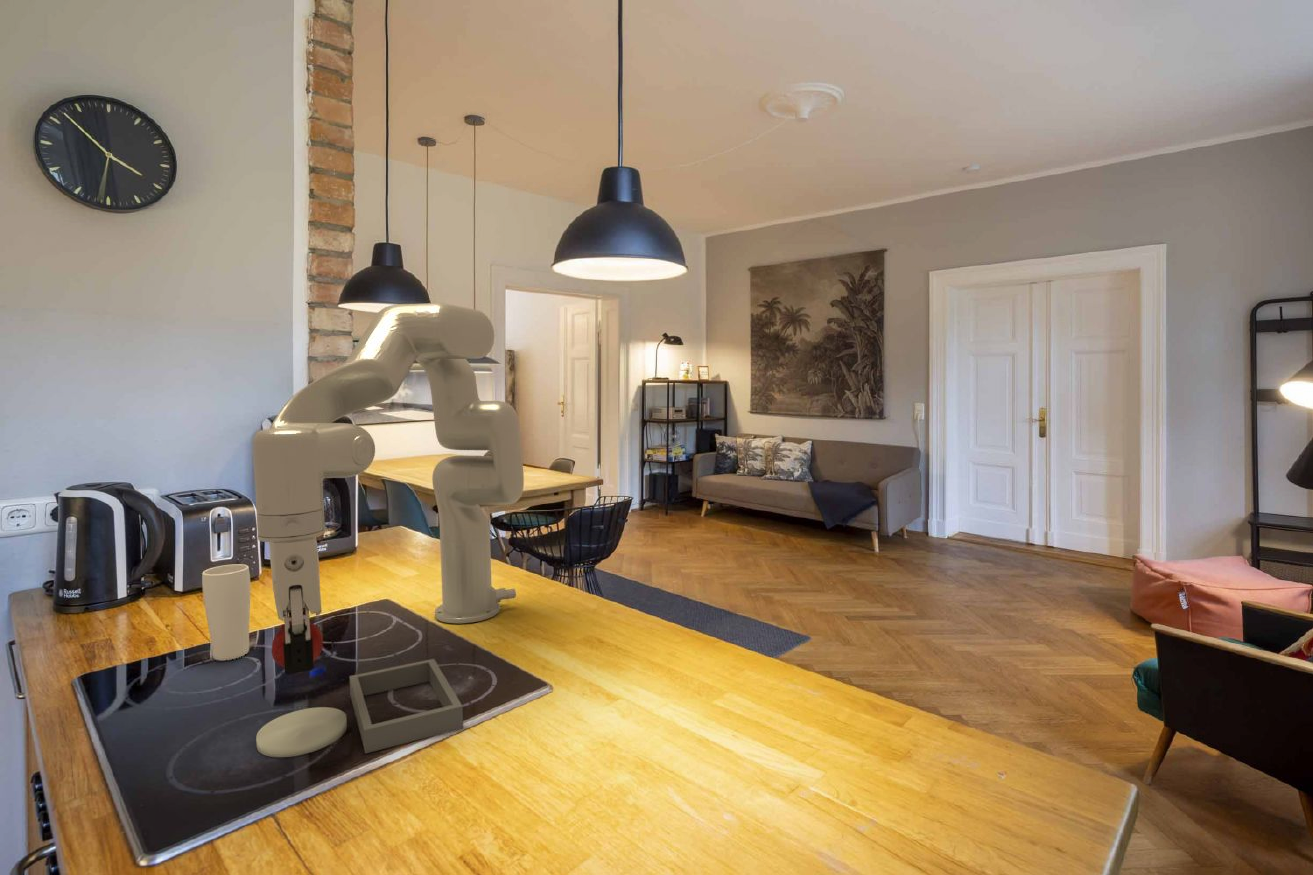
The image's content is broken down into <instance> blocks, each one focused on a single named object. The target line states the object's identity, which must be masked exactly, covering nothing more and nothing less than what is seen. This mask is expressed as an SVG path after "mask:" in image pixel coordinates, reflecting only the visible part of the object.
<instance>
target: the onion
mask: <svg viewBox="0 0 1313 875" xmlns="http://www.w3.org/2000/svg"><path fill="white" fill-rule="evenodd" d="M309 622H310V638H312V639H313V659H314V662H315V661H317V659H318V657H319V656H320V655H321V653H322V650H323V648H324V646H323V645H324V639H323V634H322V632H321V631H320V629H319V627H318V626H317V625H316V624H314V623H313V622H311V621H310V620H309ZM303 623H305V620H303ZM291 625H292V622H289V627H290V626H291ZM305 639H306V637H305ZM272 640H273V641H272V643H271V655H272V659H273V660H274V661H275V663H276V664H277V665H279V666H280V667H282V668H284V669H285V666H284V647H283V642H286V641H285V623H283V625H281V627H279V628H278V630H277V631H276V634H275V635H274V638H273V639H272ZM290 641H291V640H290ZM300 673H303V672H299V673H298V674H300Z"/></svg>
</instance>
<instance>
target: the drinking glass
mask: <svg viewBox="0 0 1313 875" xmlns="http://www.w3.org/2000/svg"><path fill="white" fill-rule="evenodd" d="M201 575H202V576H201V577H202V578H201V579H202V580H201V583H202V596H203V603H204V610H205V615H206V621H207V628H208V630H209V631H208V632H209V637H210V643H211V644H210V645H211V655H212V659H214V660H216V661H219V662H224V661H226V660H227V661H232V659H233V660H236V658H237V659H240V658H242V657H244V656H245V654H246V655H248V653H249V652H250V621H251V620H250V617H251V616H250V615H251V613H250V612H251V575H250V567H249V565H247V564H242V563H241V564H240V563H239V564H236V563H235V564H225V565H217V566H214V567H210V568H208V569H206V570H203V572H202V574H201ZM241 656H242V657H241ZM239 657H240V658H239Z"/></svg>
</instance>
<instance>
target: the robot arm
mask: <svg viewBox="0 0 1313 875" xmlns="http://www.w3.org/2000/svg"><path fill="white" fill-rule="evenodd" d="M494 344H495V330H494V326H493V324H492V322H491V320H490V319H489V317H488V316H487V315H486V314H485V313H484V312H483V311H480V310H479V309H474V308H467V307H463V306H459V305H454V304H449V303H439V302H437V303H436V302H429V303H427V302H426V303H400V304H392V305H388V306H385V307H384V308H382V309H381V310H379V311H378V312H377V313H376V314H375V316H374V317H373V318H372V321H371V322H370V323H369V325H368V326H367V328H366V330H365V331H364V332H363V334H362V336H361V337H360V339H359V340H358V342H357V344H356V345H355V347H354V348H353V349H352V351H351V353H350V354H349V356H348V357H347V358H346V360H345V361H344V362H343V363H342V364H340V365H338V366H337V367H335V368H333V369H332V370H330V371H328V372H327V373H325V374H323V375H322V376H320V377H318V378H317V379H315V380H314V381H312V382H310V383H308V385H305V386H304V387H303V388H302V389H300V390H299V391H297V392H296V393H295V394H293V395H292V396H291V398H289V400H288V401H287V402H286V403H285V404H284V405H283V407H282V409H280V411H279V412H278V414H277V416H275V418H274V419H273V422H271V424H270V425H269V428H266V429H265V428H264V429H261V430H259V431H258V432H256V433H255V435H254V436H253V440H252V454H253V472H254V489H255V490H254V491H255V493H254V494H255V509H256V531H257V540H258V541H259V542H263V543H269V560H270V571H271V572H270V573H271V580H272V584H271V585H272V591H273V597H274V603H275V609H276V614H277V619H279V620H280V621H283V624H285V641H286V642H283V647H284V666H285V668H284V674H285V675H286V676H287V675H288V676H289V675H293V674H300V673H299V672H302V673H305V672H308V671H309V672H310V671H313V669H314V668H315V663H314V662H315V661H314V659H313V639H312V638H310V622H311V621H310V617H311V616H310V614H311V615H314V614H315V616H319V615H320V614H322V612H323V611H322V610H323V609H322V599H321V598H322V597H321V582H320V581H321V579H320V578H321V576H320V560H319V551H318V550H319V548H318V542H317V537H320V536H323V535H325V533H326V531H325V529H326V528H325V527H326V526H325V524H326V523H325V511H324V510H325V508H324V505H325V504H324V503H325V502H324V485H323V481H324V479H333V478H335V479H345V478H352V477H355V476H358V475H360V474H362V473H364V472H365V471H367V469H368V468H369V467H370V466H371V464H372V463H373V460H374V458H375V455H376V445H375V441H374V438H373V437H372V435H371V434H370V433H369V432H368V431H367V430H366V429H364V428H363V427H362V426H359V425H357V424H354V423H347V422H346V423H344V422H336V421H337V420H339V419H341V418H343V417H345V416H347V415H351V414H352V413H357V412H359V411H362V410H365V409H369V408H371V407H374V406H377V405H379V404H381V403H384V402H386V401H388V400H390V399H392V398H393V397H394V396H395V395H397V393H398V392H399V390H400V387H402V384H403V382H404V381H405V379H406V377H407V375H408V374H409V372H410V369H411V367H412V366H413V364H414V363H415V361H416V362H417V363H418V364H419V365H420V366H421V368H422V369H423V371H424V372H425V374H426V376H427V379H428V382H429V386H430V393H431V401H432V404H431V405H432V411H433V412H432V414H433V419H434V421H433V422H434V427H435V428H434V429H435V434H436V439H437V442H438V443H439V445H440V446H441V447H443V448H445V449H448V450H454V451H488V452H490V454H491V455H451V456H449V457H446V458H443V459H441V460H440V461H439V462H437V464H436V465H435V467H434V469H433V472H432V488H433V492H434V496H435V500H436V506H437V512H438V519H439V520H438V521H439V523H438V524H439V543H440V546H439V548H440V570H441V571H440V572H441V574H440V576H441V596H442V597H441V599H442V600H441V601H442V604H440V605H439V606H437V607H436V608H435V609H434V618H435V619H436V620H437V621H440V622H442V623H446V624H447V623H448V624H470V623H476V622H482V621H485V620H488V619H491V618H493V617H495V616H496V615H497V614H499V613H500V611H501V604H500V603H501V601H502V600H511V599H516V597H517V593H516V589H515V588H509V589H506V587H503V588H502V587H501V588H497V589H495V588H494V587H493V586H492V557H491V556H492V555H491V527H490V523H489V518H488V517H487V514H486V513H485V512H484V511H483V509H482V507H481V506H480V505H482V506H483V505H485V506H487V505H490V506H492V505H493V506H507V505H513V504H515V503H516V502H518V501H519V500H520V498H522V495H523V492H524V482H525V478H524V477H525V476H524V464H523V452H522V450H523V449H522V437H521V429H520V421H519V417H518V414H517V412H516V410H515V408H514V407H513V406H512V405H511V404H509V403H507V402H506V401H500V400H481V399H480V397H479V393H478V387H477V377H476V373H475V371H474V369H473V368H472V366H471V364H470V362H469V361H468V360H474V359H475V360H477V359H482V358H484V357H486V356H487V355H488V354H489V353H490V352H491V351H492V349H493V346H494ZM303 620H305V623H303ZM309 621H310V622H309ZM289 622H292V625H291V626H290V627H289ZM305 637H306V639H305ZM290 640H291V641H290Z"/></svg>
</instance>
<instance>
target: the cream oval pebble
mask: <svg viewBox="0 0 1313 875" xmlns="http://www.w3.org/2000/svg"><path fill="white" fill-rule="evenodd" d="M347 727H348V724H347V714H346V713H345V712H344V711H343V710H341V709H338V708H335V707H330V706H329V707H326V706H322V707H321V706H318V707H310V708H305V709H300V710H295V711H292V712H289V713H285V714H283V715H280V716H278V717H276V718H274V719H272V720H270V721H268V722H267V723H266V724H264V725H263V726H262V727H261V728H259V730H258V732H257V734H256V737H255V738H256V739H255V742H256V748H257V751H258V752H259V753H260V754H262V755H263V756H267V757H272V758H291V757H297V756H302V755H306V754H309V753H313V752H316V751H318V750H321V749H323V748H326V747H328V746H330V745H331V744H333V743H335V742H336V741H338V740H339V739H341V737H342V736H344V734H345V733H346V731H347Z"/></svg>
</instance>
